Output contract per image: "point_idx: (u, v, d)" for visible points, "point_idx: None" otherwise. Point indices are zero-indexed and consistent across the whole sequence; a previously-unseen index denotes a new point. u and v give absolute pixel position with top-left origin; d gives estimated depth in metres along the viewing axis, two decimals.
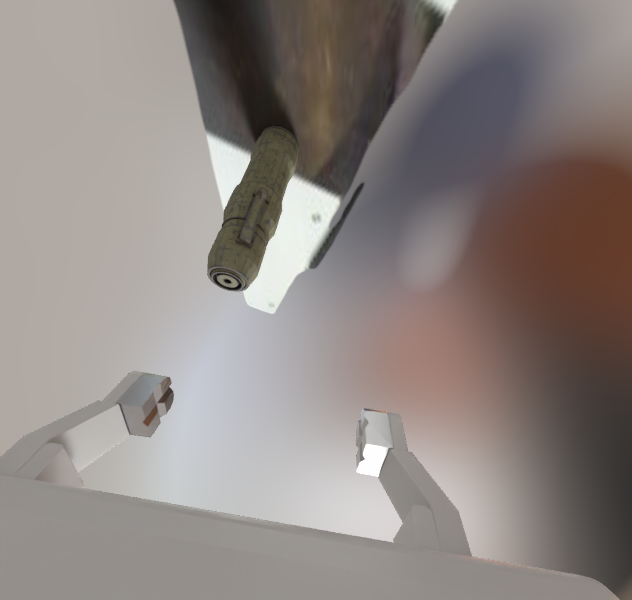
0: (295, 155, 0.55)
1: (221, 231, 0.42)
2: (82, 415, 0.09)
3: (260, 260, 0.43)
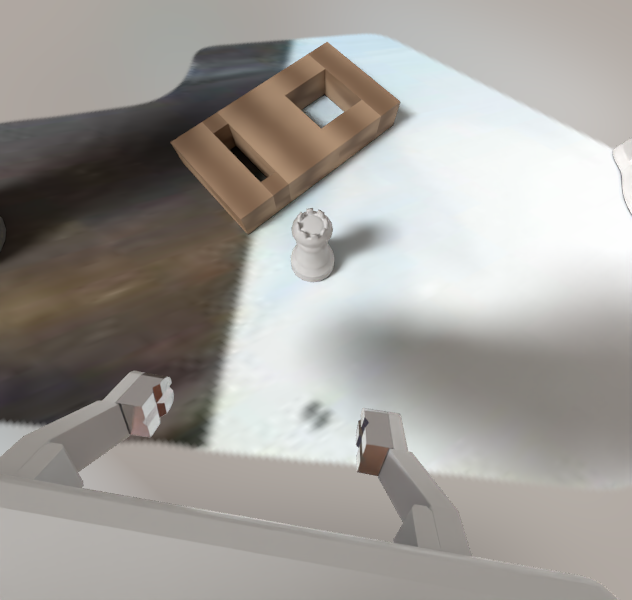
0: None
1: None
2: (82, 415, 0.09)
3: None
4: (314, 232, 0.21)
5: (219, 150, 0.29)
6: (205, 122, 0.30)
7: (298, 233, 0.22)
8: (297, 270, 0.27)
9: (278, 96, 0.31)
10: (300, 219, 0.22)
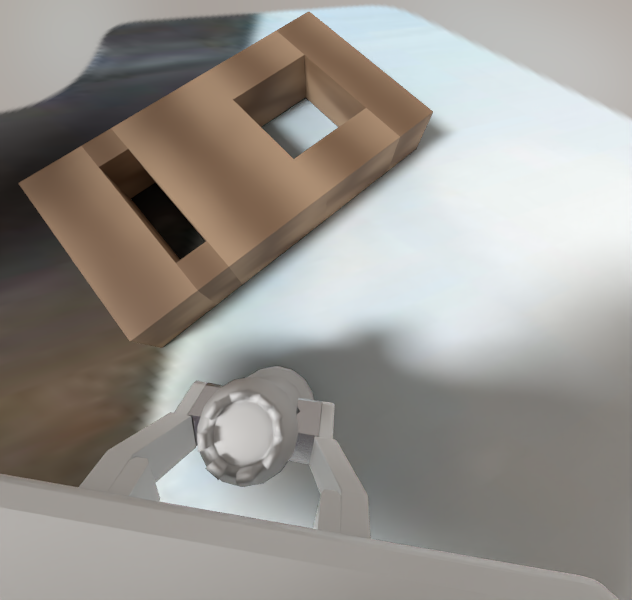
0: None
1: None
2: (159, 428, 0.09)
3: None
4: (247, 457, 0.08)
5: (106, 200, 0.16)
6: (87, 146, 0.17)
7: (207, 455, 0.08)
8: None
9: (221, 101, 0.18)
10: (212, 418, 0.08)
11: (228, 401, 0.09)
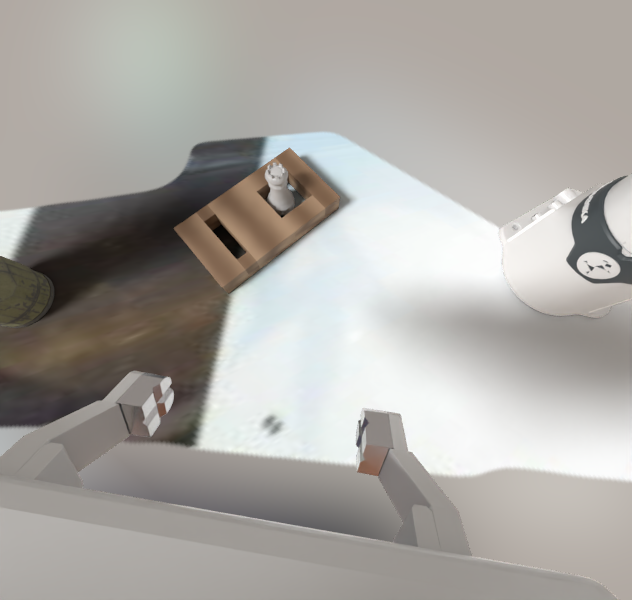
0: (1, 319, 0.36)
1: None
2: (82, 415, 0.09)
3: None
4: (277, 175, 0.38)
5: (208, 235, 0.41)
6: (198, 212, 0.42)
7: (268, 176, 0.38)
8: (271, 206, 0.43)
9: (251, 192, 0.43)
10: (269, 168, 0.38)
11: (272, 166, 0.38)
